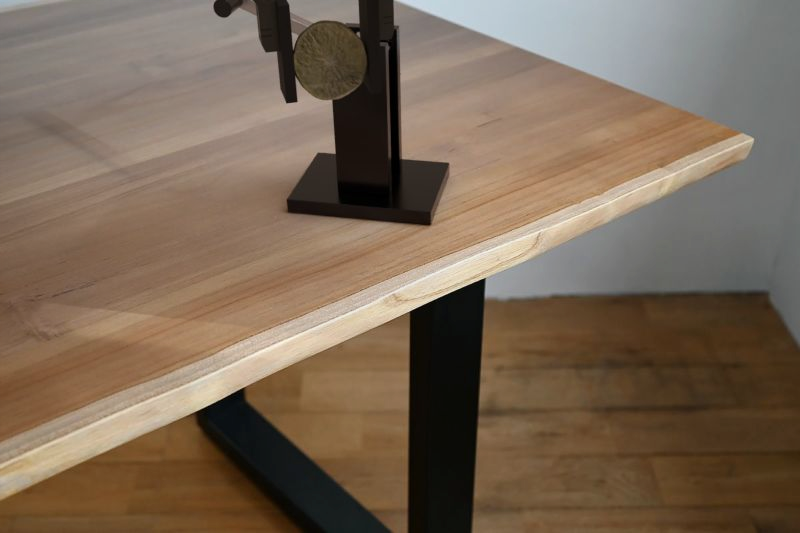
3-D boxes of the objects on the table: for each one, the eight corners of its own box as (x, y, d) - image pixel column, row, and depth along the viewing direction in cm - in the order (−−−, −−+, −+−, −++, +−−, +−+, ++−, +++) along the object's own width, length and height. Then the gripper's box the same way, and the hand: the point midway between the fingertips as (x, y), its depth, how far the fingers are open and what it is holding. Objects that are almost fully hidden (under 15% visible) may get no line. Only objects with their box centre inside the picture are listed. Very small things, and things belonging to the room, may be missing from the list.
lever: (209, 18, 69) (217, -11, 67) (237, -5, 74) (245, -32, 72) (367, 91, 69) (378, 64, 68) (385, 64, 74) (395, 38, 73)
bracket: (287, 212, 75) (271, 49, 67) (318, 164, 82) (307, 12, 75) (430, 225, 73) (430, 58, 65) (449, 174, 80) (451, 19, 72)
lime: (378, 91, 62) (375, 19, 60) (325, 112, 59) (320, 38, 57) (334, 76, 65) (330, 6, 62) (282, 95, 62) (275, 23, 59)
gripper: (135, -310, 45) (201, 128, 57) (484, -318, 48) (474, 95, 61) (132, -310, 51) (192, 86, 63) (443, -318, 54) (441, 58, 67)
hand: (330, 89), depth 62 cm, fingers closed on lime, 5 cm apart
